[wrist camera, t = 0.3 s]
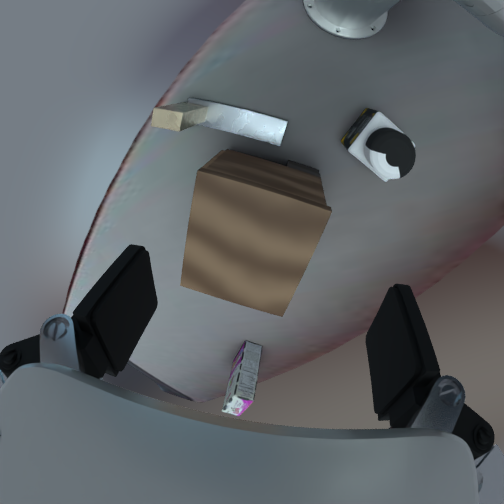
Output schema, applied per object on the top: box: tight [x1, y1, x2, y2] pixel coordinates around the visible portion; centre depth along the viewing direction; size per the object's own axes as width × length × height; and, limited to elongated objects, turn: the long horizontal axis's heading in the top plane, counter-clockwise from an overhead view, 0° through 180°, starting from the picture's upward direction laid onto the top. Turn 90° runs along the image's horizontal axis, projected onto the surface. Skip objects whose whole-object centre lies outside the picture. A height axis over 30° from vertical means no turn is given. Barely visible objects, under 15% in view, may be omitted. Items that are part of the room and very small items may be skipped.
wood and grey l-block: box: [151, 98, 288, 146], centre depth 34 cm, size 4×16×12 cm, turn 75°
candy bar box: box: [222, 341, 262, 416], centre depth 63 cm, size 11×5×16 cm, turn 161°
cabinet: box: [180, 149, 332, 317], centre depth 39 cm, size 17×16×16 cm
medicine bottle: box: [341, 108, 416, 182], centre depth 32 cm, size 7×7×12 cm
